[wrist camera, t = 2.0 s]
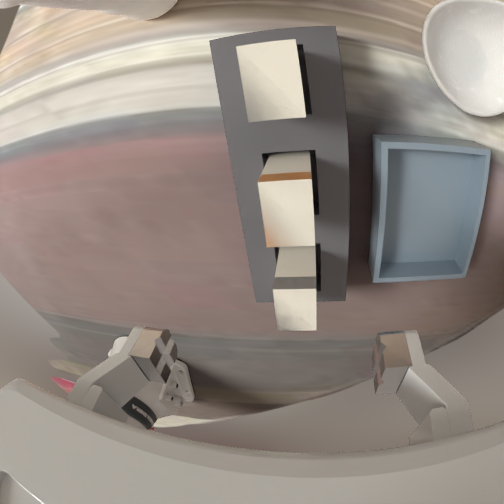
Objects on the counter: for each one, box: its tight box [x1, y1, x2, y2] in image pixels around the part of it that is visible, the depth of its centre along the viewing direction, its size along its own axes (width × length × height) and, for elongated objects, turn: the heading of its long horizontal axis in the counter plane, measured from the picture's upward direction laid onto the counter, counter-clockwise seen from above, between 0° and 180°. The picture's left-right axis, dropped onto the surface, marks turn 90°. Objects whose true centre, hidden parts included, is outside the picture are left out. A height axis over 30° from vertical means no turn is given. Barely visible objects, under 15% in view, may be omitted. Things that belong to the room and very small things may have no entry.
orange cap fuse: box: [258, 150, 315, 247], centre depth 23 cm, size 5×4×9 cm
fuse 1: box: [236, 39, 306, 123], centre depth 18 cm, size 5×4×9 cm
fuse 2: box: [273, 246, 316, 331], centre depth 28 cm, size 5×4×9 cm
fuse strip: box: [209, 26, 350, 302], centre depth 26 cm, size 27×10×4 cm, turn 9°
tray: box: [368, 134, 491, 283], centre depth 25 cm, size 15×12×4 cm
